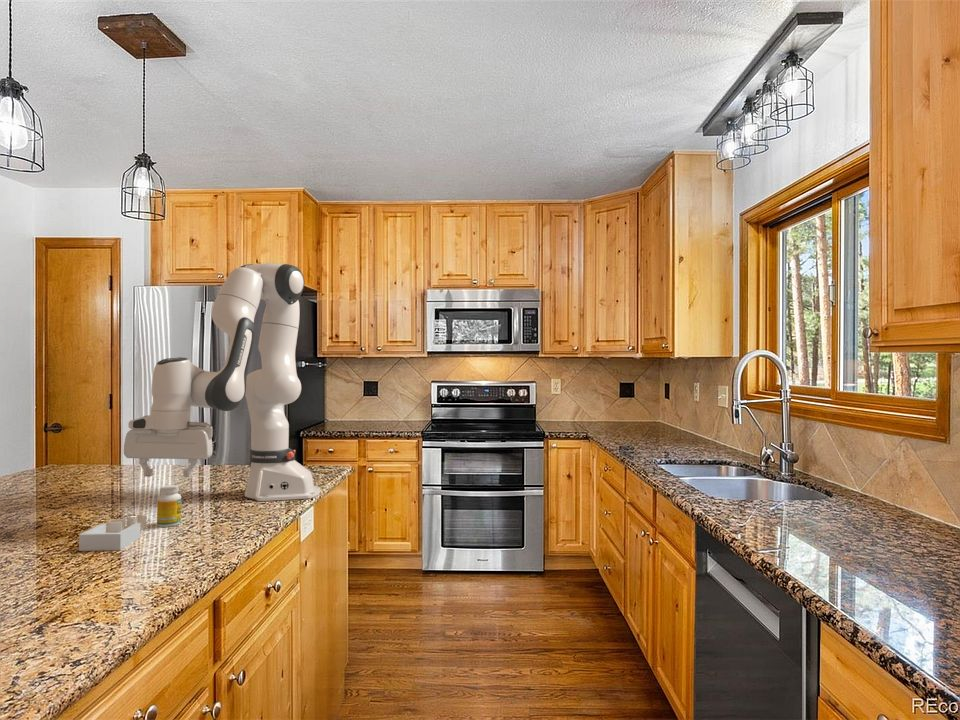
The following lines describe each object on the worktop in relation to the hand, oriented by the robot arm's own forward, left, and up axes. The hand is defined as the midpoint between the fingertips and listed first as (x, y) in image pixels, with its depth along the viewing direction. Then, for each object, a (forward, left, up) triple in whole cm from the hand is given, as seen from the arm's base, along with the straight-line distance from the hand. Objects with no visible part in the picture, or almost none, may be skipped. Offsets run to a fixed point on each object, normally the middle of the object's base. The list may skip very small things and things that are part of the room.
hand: (167, 476), depth 141 cm
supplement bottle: (0, 0, -13) cm, 12 cm away
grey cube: (+9, +7, -12) cm, 16 cm away
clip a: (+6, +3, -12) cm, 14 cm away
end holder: (+6, +15, -12) cm, 20 cm away
